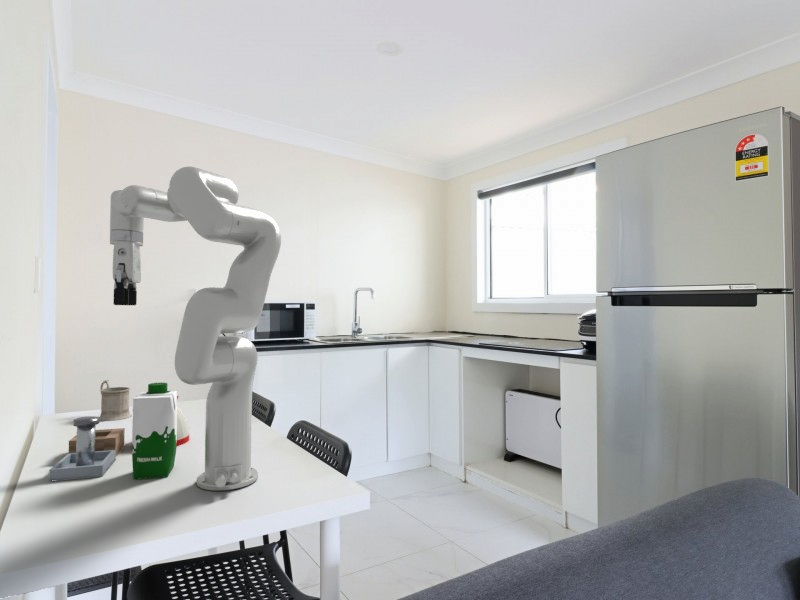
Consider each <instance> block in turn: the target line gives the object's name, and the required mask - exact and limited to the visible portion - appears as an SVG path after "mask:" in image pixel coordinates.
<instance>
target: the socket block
mask: <svg viewBox="0 0 800 600" xmlns="http://www.w3.org/2000/svg"><path fill="white" fill-rule="evenodd" d="M125 430H126V429H125V428H124V427H122V428H121V427H120V428H108V429H107V428H104V429H95V451H108V450H116V457H118V455H119V454H120V453H121V451H122V450H123V449H124V447H125ZM76 441H77V434H76V435H74V436H73V437H72V438H71V439H70V440H68V454H70V453H76Z"/></svg>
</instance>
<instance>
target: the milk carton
mask: <svg viewBox="0 0 800 600" xmlns="http://www.w3.org/2000/svg"><path fill="white" fill-rule="evenodd" d="M177 396H178V391H177V390H174V391H173V390H168V382H151V383H149V384H148V386H147V391H141V392H140V393H138V394H136V396H135V397H133V399H132V400H133V401H132V426H131V428H132V431H131V434H132V435H131V436H132V438H131V440H132V441H131V458H132V459H131V461H132V479H133V481H134V480H144V479H145V480H146V479H157V478H168V477H169V476H170V474H171V472H172V470H173V469H174V467H175V461H176V453H177V448H178V446H177V406H178V399H177Z"/></svg>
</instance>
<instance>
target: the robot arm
mask: <svg viewBox="0 0 800 600" xmlns="http://www.w3.org/2000/svg"><path fill="white" fill-rule="evenodd" d="M168 184H169V187H168V189H167V192H166V191H162V190H159V189H155V188H150V187H147V186H146V187H145V186H141V185H137V184H131V185H128V186H125V188H123V189H117V190H114V191H112V192H111V194H110V210H109V211H110V216H109V217H110V220H109V245H113V249H112V250H113V252H112V253H113V254H112V279H113V281H114V285H113V305H114V306H136V305H137V293H138V291H137V284H140V283H141V282H142V273H141V268H142V265H141V264H142V262H141V249H140V247H144V225H145V223H144V218H145V219H151V220H157V221H162V222H167V223H176V222H185V221H188V222H187V223H189V224H190V226H191V227H192V228H193V230H194V231H195V232H196V233H197V235H198V236H200V237H201V238H203V239H205V240H207V241H210V242H214V243H222V244H227V245H235V246H240V247H243V250H242V251H241V252H240V253H239V254H238V255H237V256H236V257H235V259H234V260H233V261H232V263H231V265H230V268H229V270H228V271H229V272H228V274H227V275H228V276H227V279H226V283H225V286H223V287H215V286H214V287H204V288H201V289H199V290H197V291H195V292H194V293H193V294H192V295H191V297H190V298H189V300H188V301H187V303H186V306H185V309H184V313H183V317H182V322H181V325H180V326H181V327H180V331H179V335H178V339H177V340H178V341H177V345H176V349H175V355H174V369H175V370H174V371H175V374H176V376H177V378H178V379H179V380H180V381H181V382H182V383H184V384H186V385H191V386H196V385H197V386H198V385H199V386H200V385H206V384H211V386H210V388H209V389H208V392H207V396H206V401H205V428H204V429H205V430H204V431H205V433H204V434H205V435H204V436H205V437H204V439H205V440H204V447H205V448H204V472H202V473H200V474H199V475H198V476H197V477H196V485H197V487H199V488H200V489H203V490H207V491H217V492H218V491H232V490H237V489H239V488H240V489H241V488H244V487H247V486H250V485H251V484H254V482H256V481H257V480H258V478H259V471H258V470H257V469H255V468H254V467H252V421H253V419H252V418H253V417H252V414H253V412H252V411H253V409H252V408H253V406H252V405H253V389H254V388H253V386H254V378H255V375H256V369H257V363H258V352H257V348H256V346H255V344H254V343H253V342H252V341H251V340H250V339H248V338H247V337H243V336H239V335H227V336H226V335H224V336H220V335H221V334H222V335H223V334H238V333H239V334H240V333H241V334H242V333H247V332H250V331H252V330H255V328H256V327H257V326H258V324H259V323H260V320H261V317H262V313H263V308H264V305H265V302H266V297H267V294H268V293H267V292H268V288H269V285H270V281H271V275H272V272H273V270H274V267H275V264H276V262H277V260H278V257H279V254H280V251H281V245H282V237H281V236H282V235H281V231H280V228H279V226H278V224H277V222H276V221H275V220H274V219H273V218H272V217H271V216H270V215H268V214H266V212H262V211H261V210H257V209H255V208H251V207H248V206H244V205H239V204H238V200H239V197H240V196H239V190H238V188H237V186H236V185H235V183H234V182H233V181H232V180H231V179H229V178H227V176H224V175H220V174H218V173H214V172H212V171H208V170H205V169H202V168H198V167H195V166H183V167H181V168H179V169H177V170H176V171H175V172H174V173H173V174H172V175H171V178H170V180H169V183H168Z"/></svg>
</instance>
